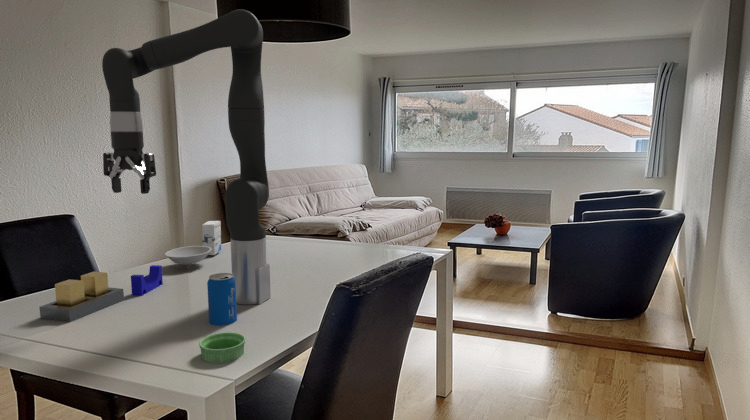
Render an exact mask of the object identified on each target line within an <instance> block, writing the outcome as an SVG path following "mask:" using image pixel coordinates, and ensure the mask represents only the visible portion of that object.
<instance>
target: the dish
mask: <svg viewBox="0 0 750 420" xmlns="http://www.w3.org/2000/svg"><path fill="white" fill-rule="evenodd" d="M211 250H212V248H211V247H208V246H202V245H187V246H180V247H176V248H173V249H170V250H168V251H165V253H164V256H165V257H167V258H168V259H169V260H170V261H171V262H173V263H175V264H178V265H186V266H188V267H189V266H193V265H194V264H196V263H199V262H201V261H203V260H204V259H205V258H206V257H208V256H209V255H208V254H209V252H210V251H211Z"/></svg>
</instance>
